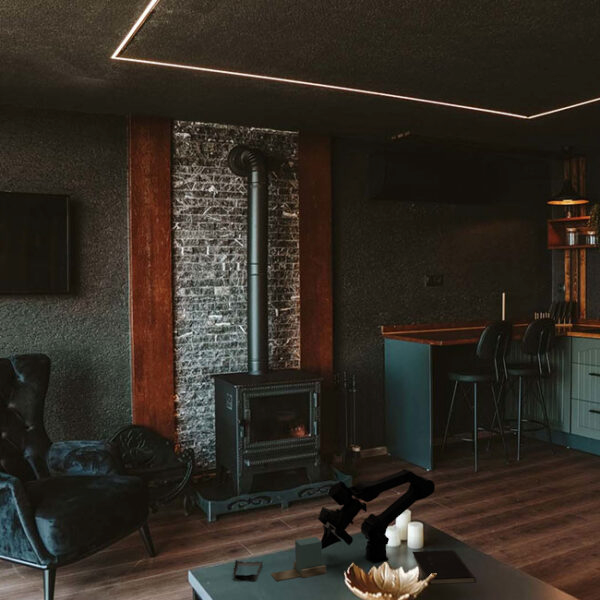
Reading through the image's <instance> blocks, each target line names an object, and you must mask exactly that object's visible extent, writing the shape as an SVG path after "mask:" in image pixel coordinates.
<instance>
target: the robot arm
mask: <svg viewBox="0 0 600 600" xmlns="http://www.w3.org/2000/svg"><path fill="white" fill-rule="evenodd" d="M407 483H409V486H408V488H407V491H405V492H404V493H403V494H402V495H401V496H399V497H398V498H397V499H396V500H395V501H393V503H391V504H390V505H389V506H388V507H387V508H386V509H384V510H383V511H382V512H381V513H379V514H377V515H375V514H374V513H371V514H369V515H368V517H366V518H364V519H363V521H362V523H361V524H360V532H361V534H362V535H363V536H364V538H365V539H366V540H367V541H366V546H365V554H364V557H365V558H366V557H367V558H366V559H368V560H369V561H370V562H371V563H374V564H375V563H380V562H384V561H389V557H387V546H388V544H389V541H390V538H389V537H387V535H386V533H387V530H388V528H389V525H390V524H391V523H393V522H394V521H395V520H396V519H397V518H398V517H400V516H401V515H402V514H404V513H405V511H407V510H408V509H409V508H410V507H411V506H412V505H413V504H415V503H416V502H418V501H421V500H425V499H426V498H429V496H431V495H433V494H434V492H435V491H436V490H435V488H436V485H435V483H434V481H433V480H431V479H430V478H427V477H425V476H422V475H417V474H416V473H414V471H411V470H410V469H408V468H404V469H401V470H400V471H397V472H395V473H392V474H389V475H387V476H384V477H382V478H379V479H377V480H376V479H375V480H365V481H360V482H358V483H356V484H355V485H353V486H349V487H348V486H347V485H346V483H344V482H343V481H342V480H340V481H338V482H337V483H335V484H333V485H332V486H331V487H330V488H329V489H328V493H327V495H328V496H329V497H330V498H331V499H332V500H333V501H334V502H335V503H336V504H337V505H338V506H340V507H341V506H342V507H341V508H340V509H339V508H337V509H335V510H333V509H330V508H326V507H323V506H322V507H321V510H320V512H319V515H318V516H319V517H317V520H318V521H320V523H321V524H323V525H322V528H323V535H322V538H321V539H320V541H321V542H322V550H324V549H326V548H327V547H330V546H332V545H334V544H336V543H339V542H340V543H341V542H342V540H343V541H344V543H346V545H348V546H350V545H351V544H352V543H353V540H354V538H353V537H352V536H351V534H349V533H348V532H347V531H346V529H348V527H349V525H354V519H355V518H356V516H358V514H359V513H360V511H364V512H365V513H366V512H368V510H367V503H369V502H372V501H374V500H375V499H377V498H378V497H379V496H380V495H381V494H382V493H384V492H386V491H389V490H392V489H395V488H397V487H400V486H402V485H405V484H407ZM354 497H355V498H354ZM361 501H363V502H361Z"/></svg>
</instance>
